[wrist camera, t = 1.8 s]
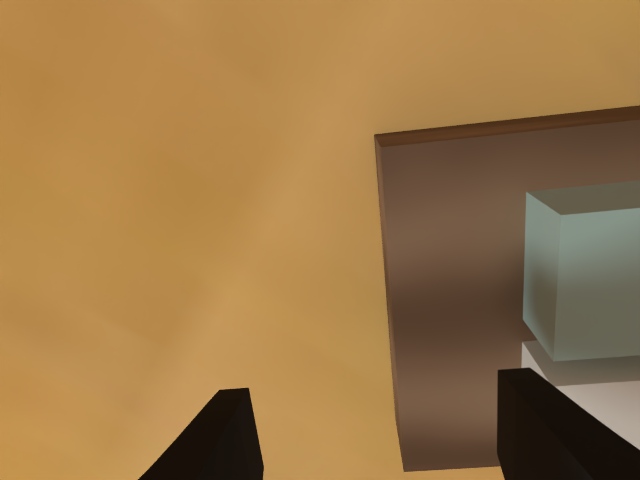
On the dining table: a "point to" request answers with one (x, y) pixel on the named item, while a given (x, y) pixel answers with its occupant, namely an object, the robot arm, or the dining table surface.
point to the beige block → (595, 386)
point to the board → (473, 262)
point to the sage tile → (583, 270)
